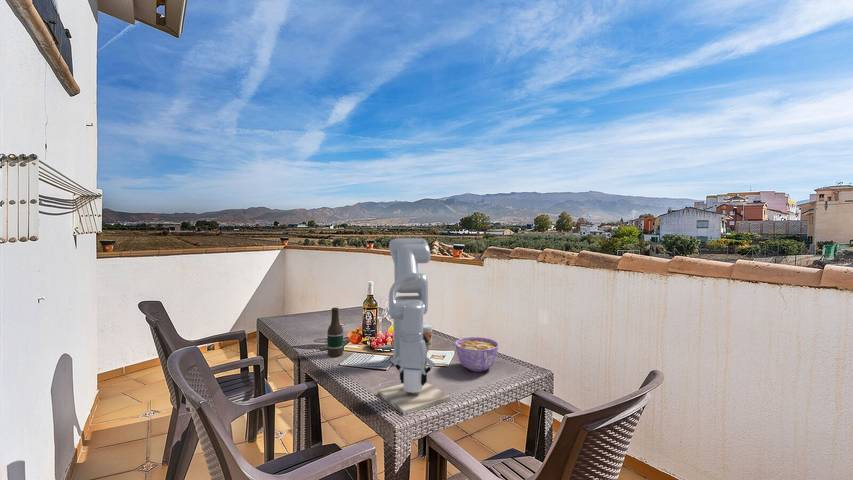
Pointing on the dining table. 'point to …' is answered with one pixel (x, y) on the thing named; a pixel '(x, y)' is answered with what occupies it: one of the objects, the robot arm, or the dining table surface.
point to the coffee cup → (427, 335)
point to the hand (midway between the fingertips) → (413, 382)
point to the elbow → (412, 380)
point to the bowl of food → (477, 352)
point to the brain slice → (384, 347)
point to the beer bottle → (335, 335)
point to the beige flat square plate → (413, 397)
